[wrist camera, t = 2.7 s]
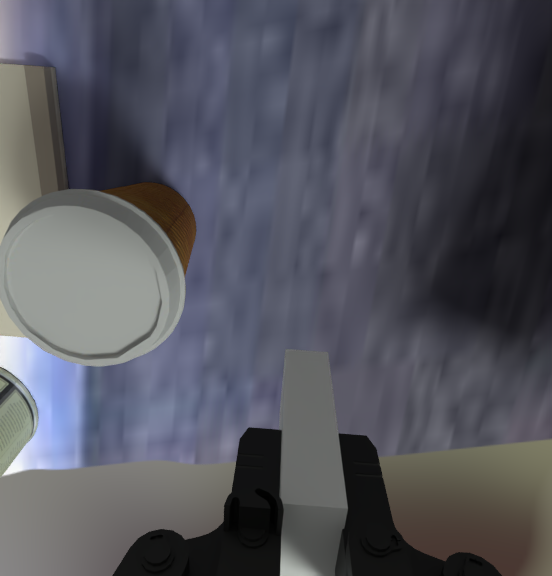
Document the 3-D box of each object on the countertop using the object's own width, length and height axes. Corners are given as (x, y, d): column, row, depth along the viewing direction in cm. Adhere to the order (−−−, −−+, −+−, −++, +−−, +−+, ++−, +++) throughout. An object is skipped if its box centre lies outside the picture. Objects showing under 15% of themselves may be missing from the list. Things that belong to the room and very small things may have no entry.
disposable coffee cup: (105, 289, 36) (19, 378, 25) (73, 164, 32) (-45, 203, 21) (226, 281, 35) (194, 369, 24) (208, 152, 31) (159, 186, 20)
